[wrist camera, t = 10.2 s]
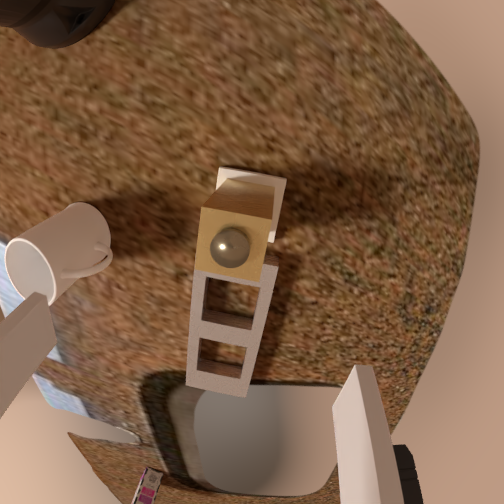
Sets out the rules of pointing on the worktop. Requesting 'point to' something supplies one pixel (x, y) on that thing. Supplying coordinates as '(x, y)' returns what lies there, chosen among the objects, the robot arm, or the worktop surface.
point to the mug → (59, 252)
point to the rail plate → (227, 333)
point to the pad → (258, 179)
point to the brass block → (235, 230)
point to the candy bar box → (148, 487)
